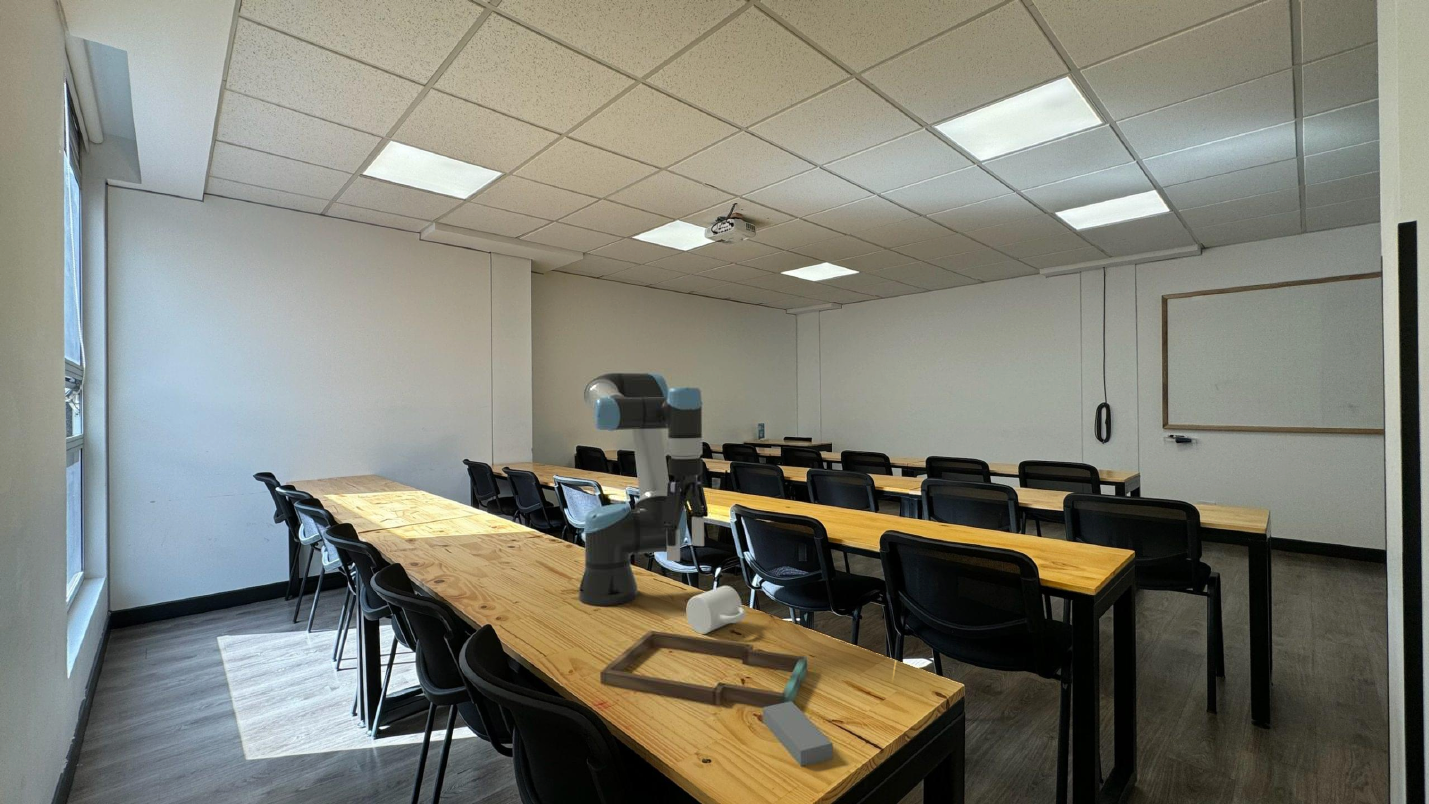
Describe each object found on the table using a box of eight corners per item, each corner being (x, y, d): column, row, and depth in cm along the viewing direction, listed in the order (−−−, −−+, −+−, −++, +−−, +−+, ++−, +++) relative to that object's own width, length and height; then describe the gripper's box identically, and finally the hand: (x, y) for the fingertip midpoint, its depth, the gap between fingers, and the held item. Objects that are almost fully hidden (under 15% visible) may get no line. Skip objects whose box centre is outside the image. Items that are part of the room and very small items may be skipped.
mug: (686, 629, 127) (685, 592, 127) (716, 616, 134) (716, 582, 134) (726, 643, 119) (725, 605, 119) (756, 629, 126) (756, 593, 126)
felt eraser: (762, 726, 89) (762, 707, 89) (791, 720, 91) (791, 701, 91) (800, 773, 78) (800, 750, 78) (832, 764, 79) (832, 742, 79)
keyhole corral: (649, 642, 120) (649, 630, 120) (809, 666, 108) (809, 652, 108) (600, 685, 102) (600, 671, 102) (785, 719, 90) (785, 703, 90)
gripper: (691, 451, 140) (692, 538, 140) (643, 462, 117) (645, 566, 117) (720, 452, 138) (721, 541, 138) (677, 462, 114) (678, 569, 114)
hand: (686, 552), depth 127 cm, fingers open, 13 cm apart
